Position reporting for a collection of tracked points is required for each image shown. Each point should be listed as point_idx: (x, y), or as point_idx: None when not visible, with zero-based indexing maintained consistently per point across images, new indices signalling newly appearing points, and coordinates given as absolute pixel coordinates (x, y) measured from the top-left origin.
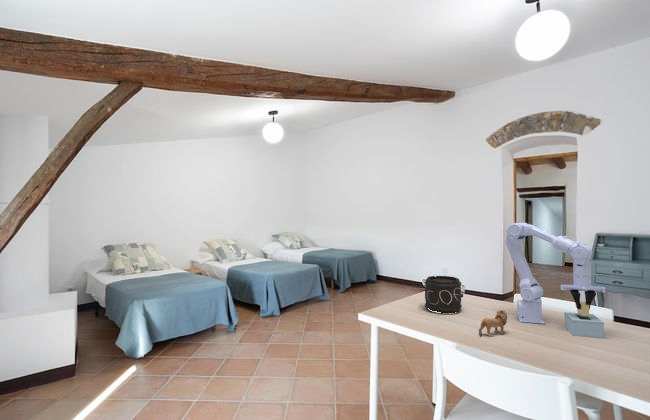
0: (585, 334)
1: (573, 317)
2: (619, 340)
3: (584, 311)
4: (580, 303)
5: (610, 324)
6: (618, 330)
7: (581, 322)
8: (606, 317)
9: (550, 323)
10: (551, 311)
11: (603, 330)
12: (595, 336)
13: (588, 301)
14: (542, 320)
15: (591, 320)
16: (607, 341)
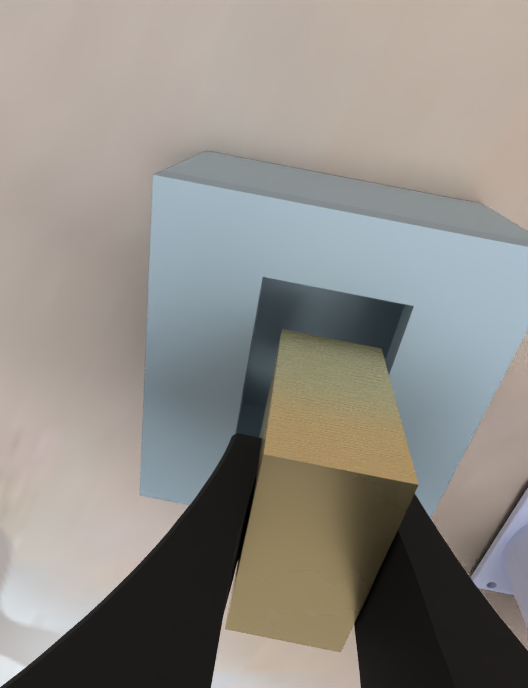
0: (372, 184)
1: (453, 375)
2: (84, 101)
3: (346, 382)
4: (374, 552)
5: (21, 490)
6: (6, 378)
7: (439, 224)
8: (5, 594)
9: (463, 495)
10: (289, 677)
11: (190, 161)
12: (280, 166)
13: (231, 560)
14: (510, 533)
15: (281, 261)
16: (220, 39)
